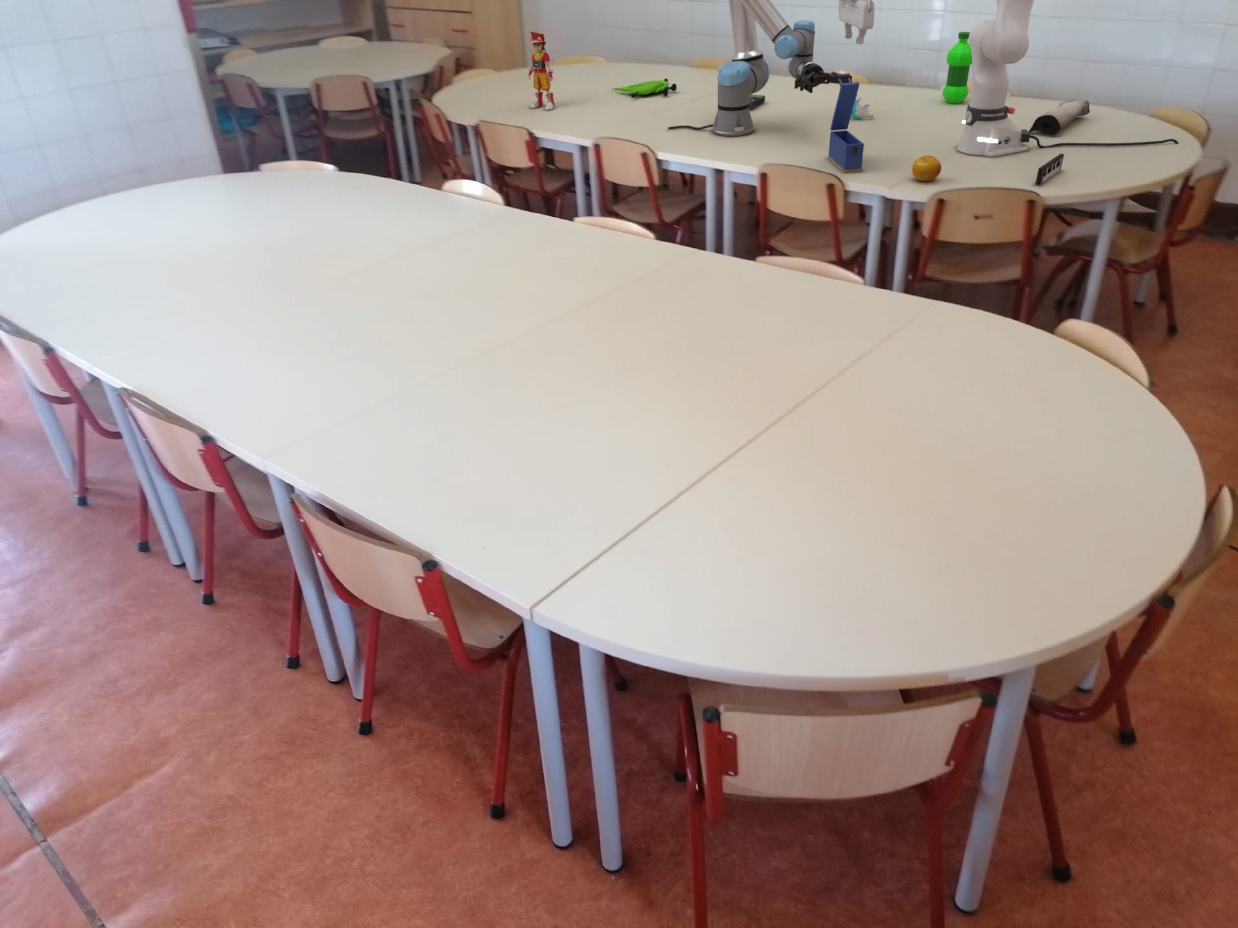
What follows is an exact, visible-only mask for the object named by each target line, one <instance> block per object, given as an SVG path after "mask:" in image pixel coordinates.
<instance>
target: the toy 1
mask: <svg viewBox="0 0 1238 928" xmlns="http://www.w3.org/2000/svg"><path fill="white" fill-rule="evenodd" d="M529 33H530V35H531V36H528V37H527V38H528V39H529V40H528V41H527V43H529V44H530V43H531V44H532V48H533V50H534V51H533V52H532V55H531V58H530V59H531V63H530V66H528V74H527V75H528V76H527V77H528V79H529V80H531V75H532V74H533V84H532V85H533V86H532V87H533V88H534V89H535V90H536V92H534V95H535V97H536V100H535V101H533V102H531V105H530V108H531V109H535V108H538V107H542V106H544V101H543V100H544V99H543V95H544V92H546V94H545V97H546V99H547V103H546V104H545V106H544V110H546V111H549V110H553V109H554V107H555V106H556V105H555V99H554V92H551V91H550V90H551V86H552V84H551V82H552V81H553V80H554V77H553V73H554V71H555V70H554V69H552V68H551V63H550V61H551V59H550V58H551V57H550V54H549V53H548V52H547V50H546V48H545V46H546V44H547V41H545V35H544V33H543V32H542V33H539V32H535V31H529Z"/></svg>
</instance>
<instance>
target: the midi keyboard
mask: <svg viewBox="0 0 1238 928" xmlns="http://www.w3.org/2000/svg"><path fill="white" fill-rule="evenodd" d="M1064 157H1065V153H1059V154H1058V155H1056V156H1055V157H1052V159H1051V160H1049V161H1047V162H1045V164H1042V165H1041V166H1039V167H1038V169H1037V175H1036V179H1035V186H1040V185H1042V183H1044V182H1045V181H1047V180H1048V179H1049V178H1051V177H1052V176H1054V175H1055V174H1056V173H1058V172H1060V171H1061V170H1062V165H1063V161H1064Z"/></svg>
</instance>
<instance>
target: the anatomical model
mask: <svg viewBox="0 0 1238 928" xmlns="http://www.w3.org/2000/svg"><path fill="white" fill-rule="evenodd" d="M857 97H858V95H857V96H856V99H855V103H854V107H853V110H852V114H851V116H852V117H853V119H855V120H861V119H863V118H873V117H874V116H875V114H874V113H869V112H868V109H869V107H870V106H871V103H865V104H864V105H860V104H859V103H860V101H861V100H862V97H858V98H857Z"/></svg>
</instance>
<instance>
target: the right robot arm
mask: <svg viewBox="0 0 1238 928" xmlns="http://www.w3.org/2000/svg"><path fill="white" fill-rule="evenodd" d="M1034 2H1035V0H996V12H995V13H996V14H995V19H993V18H991V19H990V18H989V19H984V20H981V21H979V22H977V23H976V24H974V26H972V28H971V30H970V31H969V32H970V34H969V39H968V43H969V45H970V47H971V51H972V64H971V65H972V82H971V83H972V84H971V91H970V97H969V103H968V104H967V105H966V106H967V107H966V112H965V119H964V120H962V121H961V124H964V126H963V131H962V134H961V137H960V140H959V142H958V145H957V146H956V149H957V151H959V152H961V153H964V154H967V155H972V156H973V155H975V156H985V157H991V158H992V157H993V158H995V157H1001V156H1005V155H1011V154H1016V153H1021V152H1026V151H1028V149H1029V146H1028V144H1027V143H1029V142H1030V139H1033V140H1035V141H1036V145H1037V147H1039V148H1040V149H1047V148H1048V149H1049V148H1055V147H1056V148H1057V147H1061V146H1063V147H1064V146H1076V147H1077V146H1082V147H1085V146H1090V147H1091V146H1092V147H1095V146H1097V147H1114V146H1116V147H1117V146H1118V147H1119V146H1120V147H1121V146H1122V147H1123V146H1143V145H1145V146H1146V145H1159V144H1165V143H1170V142H1172V143H1174V144H1176V145H1178V144H1179V141H1178V140H1177V139H1174V138H1167V139H1163V140H1155V141H1153V140H1152V141H1151V140H1150V141H1138V142H1058V143H1054V144H1050V145H1042V144H1041V143H1040V139H1039V138H1038V137H1037V136H1035V135H1032V134H1031V133H1029V130H1027V129H1026V128H1025V129H1021V127H1019V125H1017V124H1016V123H1015V122H1014V121H1013V120H1011V119H1010V118H1009V114H1010V115H1014V114H1015V112H1016V108H1015V107H1013V106H1008V105H1006V101H1007V95H1008V90H1009V84H1010V77H1009V76H1008V72H1007V65H1011V64H1017V63H1018V62H1020V60H1022V59H1023V58H1024V57H1025V56H1026V54H1027V53H1028V50H1029V47H1030V39H1029V24H1030V18H1031V12H1032V8H1033V5H1034ZM838 19H839V21H840V22H843V27H844V38H845V39H847V40H851V39H852V38H853V31H852V29H853V28H852V27H855V28H857V31H858V32H857V33H858V34H857V36H856V38H855V39H856V40H855V43H856V44H857V45H863V44H864V42H865V37H866V34H867V30H872V29H873V28H874V24H875V2H874V1H873V0H838Z"/></svg>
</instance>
